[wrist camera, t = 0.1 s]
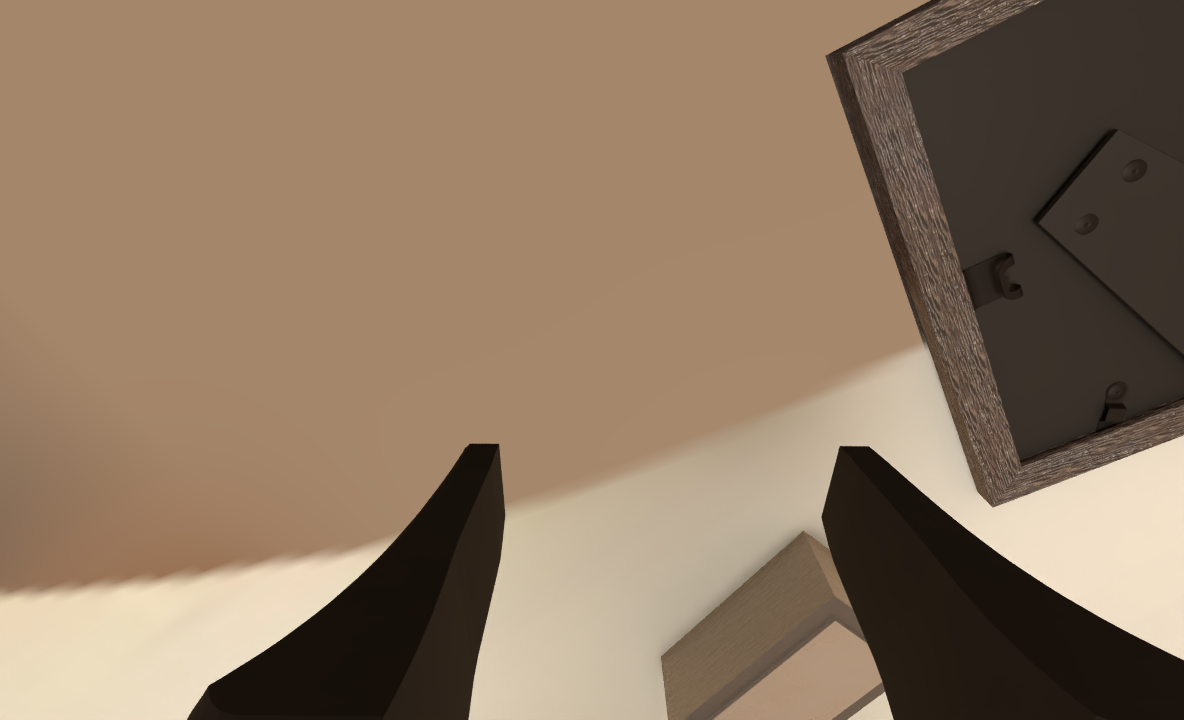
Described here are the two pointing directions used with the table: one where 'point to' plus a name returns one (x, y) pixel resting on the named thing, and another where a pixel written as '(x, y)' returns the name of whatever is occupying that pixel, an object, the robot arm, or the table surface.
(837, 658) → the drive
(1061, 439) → the picture frame
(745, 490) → the table surface
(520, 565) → the table surface
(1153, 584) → the table surface
